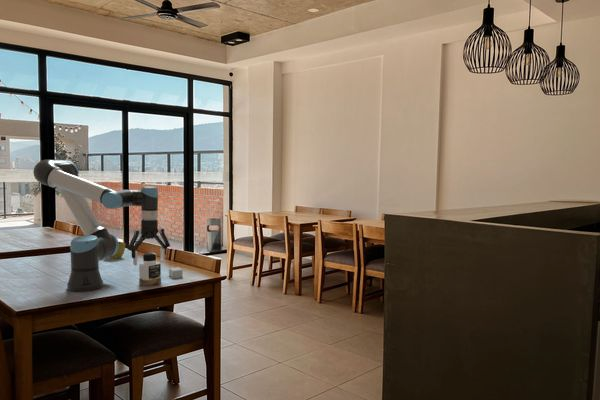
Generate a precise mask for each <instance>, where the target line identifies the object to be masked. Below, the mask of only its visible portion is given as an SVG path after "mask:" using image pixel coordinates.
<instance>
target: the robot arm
mask: <svg viewBox="0 0 600 400" xmlns="http://www.w3.org/2000/svg"><path fill="white" fill-rule="evenodd" d="M79 174H80V171H79V169H78V166H77V165H76V164H75V163H74V162H72V161H71V160H66V159H42V160H40V161H38V162H37V163H36V165H34V168H33V177H34V179H35V180H36V182H38V183H40V184H42V185H44V186H47V187H50V188H54V190H55V192H59V193H60V194H61V196H62V197H63V199H64V201H65V204H66V205H67V207H68V208H69V210H70V212H71V213H72V215H73V217H74V219H75V221H76V223H77V225H78V226H79V228H80V229H81V232H82V233H83V235H80V236H77V237H74V238H72V240H70V247H69V250H70V275H69V277H68V282H67V284H66V286H67V287H66V288H67V289H66V290H68V291H70V292H89V291H95V290H98V289H102V288H103V287H104V280H103V278H102V276H101V272H100V268H99V267H100V263H99V262H100V261H103V260H106V259H107V260H108V259H109V257H111V256H113V255H114V254H115V253H116V252H117V250H118V247H119V243H118V242H119V240H118V238H117V237H116V236H115V235H114V234H112V233H109V231H108V229H107V228H106V227H103V226H101V224H100V221H99V220H98V218H97V216H96V215H95V213H94V211H93V209H92V207H91V206H90V204H89V202H88V200H87V199H89V200H92V201H94V202H97V203H99V204H102V206H103V207H104V208H106V209H110V210H115V209H119V208H126V207H140V209H141V212H140V219H141V220H140V223H141V224H140V230H138V229H134V231H133V236H132V238H131V241H130V242H129V243H128V246H127V250H128V251H131V258H132V259H133V262H132V264H133V265H134V266H138V251H137V250H138V249H139V247H140V246H141V245H142V243H143V242H144V241H145V240H150V239H151V240H152V239H155V240H156V242H157V243H158V245H160V263H161V262H162V263H165V255H167V249H168V248H170V247H171V243H170V242H169V240H168V238H167V236H166V234H165V229H164V228H162V227H159V228H158V223H159V220H158V217H159V209H158V207H159V205H158V204H159V191H158V187H156V186H142V187H141V188H140V189H141V190H134V189H133V190H132V189H120V190H115V189H111V188H108V187H106V186H103V185H100V184H98V183H95V182H92V181H90V180H88V179H85V178H82V177H79ZM158 233H159V234H160V237H161V239H160V237H159V235H158ZM140 234H141V235H140ZM138 238H139V239H138ZM162 240H163V241H162Z"/></svg>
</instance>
